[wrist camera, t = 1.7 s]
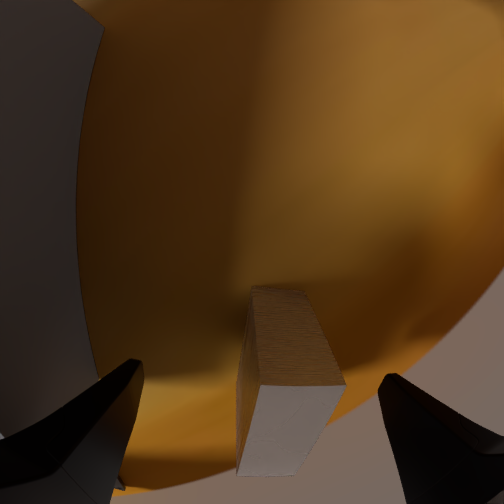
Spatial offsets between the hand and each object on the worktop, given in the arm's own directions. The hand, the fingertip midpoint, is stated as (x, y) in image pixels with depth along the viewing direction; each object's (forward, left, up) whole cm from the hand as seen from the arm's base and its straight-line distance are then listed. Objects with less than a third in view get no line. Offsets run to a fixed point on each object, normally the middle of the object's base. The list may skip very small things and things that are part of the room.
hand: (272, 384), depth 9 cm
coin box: (+4, +15, -2) cm, 16 cm away
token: (0, 0, -2) cm, 2 cm away
